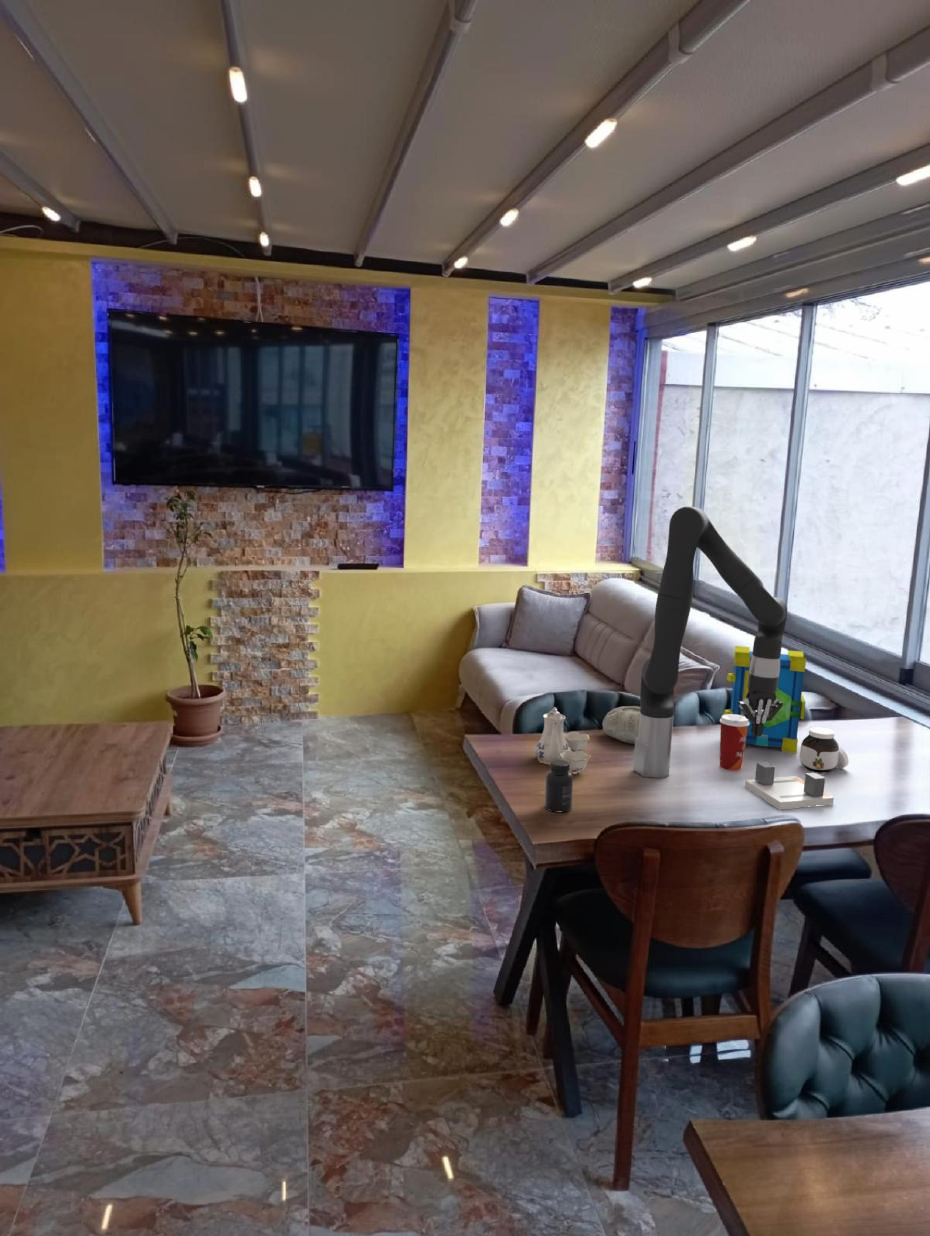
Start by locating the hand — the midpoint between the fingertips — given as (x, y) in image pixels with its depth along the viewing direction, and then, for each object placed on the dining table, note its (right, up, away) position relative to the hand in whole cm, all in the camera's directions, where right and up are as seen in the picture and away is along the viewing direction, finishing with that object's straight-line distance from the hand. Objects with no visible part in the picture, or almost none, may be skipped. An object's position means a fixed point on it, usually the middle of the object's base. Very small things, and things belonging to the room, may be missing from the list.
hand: (756, 735), depth 237 cm
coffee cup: (-1, -12, +21) cm, 24 cm away
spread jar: (+27, -13, +22) cm, 37 cm away
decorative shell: (-26, -7, +43) cm, 51 cm away
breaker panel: (+8, -16, 0) cm, 18 cm away
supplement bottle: (-55, -17, -14) cm, 59 cm away
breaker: (+13, -15, -4) cm, 20 cm away
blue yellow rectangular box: (+15, -9, +42) cm, 46 cm away
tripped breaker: (+3, -13, +3) cm, 14 cm away
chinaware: (-50, -11, +21) cm, 55 cm away
